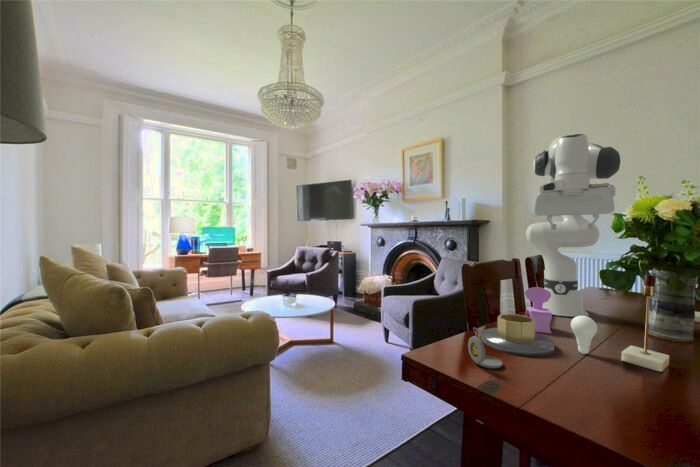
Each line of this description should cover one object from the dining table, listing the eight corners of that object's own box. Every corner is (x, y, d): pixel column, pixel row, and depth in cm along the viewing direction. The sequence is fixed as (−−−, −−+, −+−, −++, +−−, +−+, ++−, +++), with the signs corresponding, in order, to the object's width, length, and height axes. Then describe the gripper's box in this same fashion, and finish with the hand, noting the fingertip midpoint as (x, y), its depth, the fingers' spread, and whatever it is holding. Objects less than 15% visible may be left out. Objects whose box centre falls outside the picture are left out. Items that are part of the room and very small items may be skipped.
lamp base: (488, 329, 110) (488, 307, 110) (555, 340, 99) (555, 316, 99) (475, 346, 94) (475, 320, 94) (553, 362, 82) (553, 332, 82)
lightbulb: (602, 359, 85) (602, 319, 85) (577, 357, 86) (577, 318, 86) (589, 350, 91) (589, 313, 91) (566, 349, 92) (566, 312, 92)
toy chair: (528, 332, 108) (528, 289, 108) (523, 325, 116) (523, 285, 116) (555, 335, 105) (555, 291, 105) (549, 327, 113) (549, 287, 113)
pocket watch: (506, 364, 81) (506, 326, 81) (493, 374, 75) (493, 334, 75) (475, 355, 87) (475, 320, 87) (462, 364, 81) (462, 327, 81)
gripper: (613, 184, 93) (614, 229, 92) (535, 189, 104) (535, 230, 104) (616, 180, 87) (617, 228, 87) (533, 186, 99) (533, 229, 99)
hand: (571, 229), depth 96 cm, fingers open, 8 cm apart
